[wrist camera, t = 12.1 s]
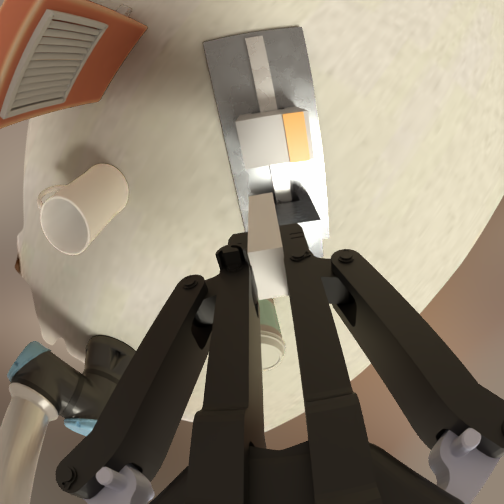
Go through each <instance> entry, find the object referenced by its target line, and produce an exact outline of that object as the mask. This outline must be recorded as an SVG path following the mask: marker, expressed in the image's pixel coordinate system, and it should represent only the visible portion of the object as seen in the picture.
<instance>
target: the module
mask: <svg viewBox="0 0 504 504" xmlns="http://www.w3.org/2000/svg"><path fill="white" fill-rule="evenodd" d="M235 123H236V128H237V132H238V137H239V142H240V146H241V151H242V156H243V160H244V165H245V170H246V169H252V168H258V167H264V166H270V165H276V164H282V163H289V162H290V163H296V162H304V161H310V159H314V151H313V143H312V136H311V129H310V122H309V115H308V111H307V110H305V109H302V108H299V107H297V106H293V107H286V108H284V109H280V110H273V111H267V112H261V113H255V114H252V113H248V114H243V115H239V117H238V118H237V120H236V122H235Z"/></svg>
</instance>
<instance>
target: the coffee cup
mask: <svg viewBox="0 0 504 504" xmlns="http://www.w3.org/2000/svg"><path fill="white" fill-rule="evenodd" d="M258 302H259V307H260V327H261V355H262V371H266V370H270V369H272V368H275V367H276V366H278V365H279V364H280V363H281V361H282V359H283V356H284V354H285V349H286V345H285V342H284V340H283V339H282V335H281V331H280V327H279V323H278V318H277V314H276V310H275V306H274V302H273V299H272V298H269V299H263V300H259V298H258Z"/></svg>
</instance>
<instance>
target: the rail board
mask: <svg viewBox="0 0 504 504" xmlns="http://www.w3.org/2000/svg"><path fill="white" fill-rule="evenodd" d="M203 45H204V50H205V54H206V59H207V63H208V68H209V72H210V76H211V81H212V85H213V90H214V94H215V99H216V103H217V108H218V112H219V117H220V121H221V125H222V130H223V134H224V139H225V143H226V148H227V152H228V156H229V161H230V165H231V170H232V174H233V179H234V183H235V187H236V192H237V196H238V201H239V205H240V210H241V214H242V218H243V223H244V227H245V232H248V206H249V196H254V195H259V194H265V193H271V192H272V194H273V199H274V204H275V209H276V214H277V219H278V225H279V226H281V225H287V224H293V223H298V224H299V225H300V226H302V229H303V232H304V235H305V238H306V241H307V244H308V247H309V250H310V251H311V252H312V253H313V255H314V256H316V257H318V258H321V257H323V242H322V239H327V238H329V220H328V205H327V192H326V180H325V170H324V160H323V151H322V142H321V134H320V127H319V119H318V112H317V105H316V99H315V93H314V87H313V81H312V75H311V70H310V64H309V59H308V54H307V49H306V44H305V39H304V35H303V30H302V27H293V28H282V29H273V30H265V31H258V32H251V33H245V34H239V35H234V36H229V37H224V38H219V39H215V40H211V41H207V42H203ZM293 106H297V107H299V108H302V109H305V110H307V111H308V115H309V122H310V129H311V136H312V143H313V151H314V159H310V161H304V162H296V163H290V162H289V163H282V164H276V165H270V166H264V167H258V168H252V169H246V170H245V165H244V160H243V156H242V151H241V146H240V142H239V137H238V132H237V128H236V123H235V122H236V120H237V118H238V117H239V115H243V114H248V113H252V114H255V113H261V112H267V111H273V110H280V109H284V108H286V107H293Z"/></svg>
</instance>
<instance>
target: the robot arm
mask: <svg viewBox="0 0 504 504" xmlns="http://www.w3.org/2000/svg"><path fill="white" fill-rule="evenodd" d="M215 255H216V258H217V261H218V264H219V267H220V274H218V275H217V276H215V277H213V278H210V279H208V280H204V277H202V276H201V275H190V276H187V277H185V278H184V279H182V280H181V281H180V282H179V283H178V284H177V286H176V287H175V289H174V290H173V292H172V294H171V295H170V297H169V298H168V300H167V302H166V303H165V305H164V306H163V308H162V310H161V311H160V313H159V314H158V316H157V318H156V319H155V321H154V322H153V324H152V326H151V327H150V329H149V331H148V332H147V334H146V336H145V337H144V339H143V341H142V342H141V344H140V346H139V347H138V349H137V351H135V350H133V349H132V348H131V347H129V346H128V345H126V344H125V343H123V342H121V341H119V340H116V339H114V338H111V337H106V336H95V337H92V338H91V339H90V340H89V342H88V345H87V347H86V358H85V369H84V372H83V374H81V373H80V372H78V371H77V370H75V369H74V368H72V367H71V366H70V365H68V364H67V363H65V362H64V361H63V360H61V359H60V358H59V357H57V356H56V355H55V354H53V353H52V352H51V350H50V349H47V348H45V347H44V346H43V345H41V344H40V343H39V342H36V341H33V342H31V343H29V344H28V345H27V346H26V347H25V349H24V350H23V351H22V352H21V354H20V355H19V356H18V358H17V359H16V361H15V362H14V364H13V365H12V367H11V368H10V370H9V372H8V374H7V377H8V378H9V381H10V382H11V383H10V386H9V391H10V394H11V396H12V399H11V402H10V404H9V406H8V409H7V412H6V414H5V417H4V419H3V422H2V425H1V427H0V504H30V497H31V491H32V486H33V481H34V476H35V471H36V466H37V462H38V458H39V454H40V450H41V446H42V442H43V439H44V435H45V432H46V428H47V425H48V422H49V421H52V420H56V419H57V418H58V415H61V416H62V417H64V418H65V419H64V424H65V426H66V427H68V428H69V429H71V430H72V431H75V432H77V433H79V434H82V435H84V436H86V437H85V438H84V439H83V440H82V441H81V442H80V443H79V444H78V445H77V446H76V447H75V448H74V449H73V450H72V451H71V452H70V453H69V454H68V455H67V456H66V457H65V458H64V459H63V460H62V461H61V462H60V463H59V465H58V467H57V469H56V481H57V483H58V485H59V487H60V488H61V489H62V490H63V491H65V492H68V493H70V494H72V495H75V496H77V497H80V498H82V499H84V500H85V501H86V502H87V503H88V504H147V503H148V501H149V500H151V499H152V498H153V497H154V490H153V489H152V486H151V484H150V482H151V481H152V479H153V478H154V477H155V475H156V474H157V472H158V471H159V469H160V467H161V465H162V463H163V461H164V459H165V457H166V455H167V452H168V450H169V447H170V445H171V442H172V440H173V437H174V435H175V433H176V430H177V428H178V425H179V423H180V421H181V418H182V416H183V413H184V411H185V408H186V406H187V404H188V401H189V399H190V396H191V394H192V391H193V389H194V387H195V384H196V382H197V379H198V377H199V375H200V372H201V370H202V367H203V365H204V362H205V360H206V358H207V355H208V353H209V357H208V365H207V374H206V383H205V391H204V401H203V407H202V409H201V410H200V411H198V412H196V414H195V416H194V421H193V429H192V438H191V447H190V457H189V466H187V467H186V468H185V469H184V470H183V471H182V472H181V473H180V474H179V475H178V476H177V477H176V478H175V479H174V480H173V481H172V482H171V483H170V484H169V485H168V486H167V487H166V488H165V489H164V490H163V491H162V492H161V493H160V494H159V495H158V496H157V497H156V498H155V499H154V500H152V501H151V502H150V503H149V504H471V502H472V501H473V499H474V498H475V497H476V496H477V494H478V493H479V491H480V490H481V488H482V487H483V485H484V484H485V482H486V481H487V479H488V477H489V476H490V474H491V473H492V471H493V470H494V468H495V466H496V464H497V463H498V461H499V459H500V458H501V457H502V456H503V455H504V400H503V399H501V398H500V397H498V396H497V395H495V394H493V393H492V392H491V391H489V390H487V389H486V388H484V387H482V386H481V385H480V384H478V383H477V381H476V380H475V379H474V377H473V376H472V375H471V374H470V372H469V371H468V370H467V369H466V367H465V366H464V365H463V364H462V362H461V361H460V360H459V359H458V358H457V357H456V355H455V354H454V353H453V352H452V351H451V349H450V348H449V347H448V346H447V345H446V344H445V342H444V341H443V340H442V339H441V338H440V337H439V336H438V334H437V333H436V332H435V331H434V330H433V329H432V328H431V327H430V325H429V324H428V323H427V322H426V321H425V320H424V319H423V318H422V317H421V316H420V315H419V313H418V312H417V311H416V310H415V309H414V308H413V307H412V306H411V305H410V304H409V303H408V302H407V301H406V300H405V299H404V298H403V297H402V295H401V294H400V293H399V292H398V291H397V290H396V289H395V288H394V287H393V286H392V285H391V284H390V283H389V282H388V281H387V280H386V279H385V278H384V277H383V276H382V275H381V274H380V273H379V272H378V271H377V270H376V269H375V268H374V267H373V266H372V265H371V264H370V263H369V262H368V261H367V260H365V259H364V258H363V257H362V256H361V255H360V254H359V253H358V252H356V251H354V250H350V249H343V250H339V251H337V252H335V253H334V254H333V255H332V256H331V259H324V258H318V257H316V256H314V255H313V253H312V252H311V251H310V250H309V247H308V244H307V241H306V238H305V235H304V232H303V229H302V226H300V225H299V224H298V223H293V224H287V225H281V226H279V225H278V219H277V214H276V209H275V204H274V199H273V194H272V192H271V193H265V194H259V195H254V196H249V206H248V232H244V233H238V234H233V235H232V236H231V237H230V239H229V241H228V245H226V246H224V247H222V248H220V249H219V250H218V251H217V252H216V254H215ZM288 295H289V297H290V304H291V310H292V317H293V324H294V330H295V337H296V345H297V352H298V359H299V366H300V374H301V382H302V390H303V398H304V406H305V414H306V423H307V431H308V441H306V442H303V443H300V444H298V445H295V446H292V447H290V448H287V449H284V450H270V449H266V443H265V437H264V414H263V384H262V355H261V327H260V307H259V302H258V298H259V300H263V299H269V298H276V297H282V296H288ZM329 303H330V304H332V305H333V308H334V309H335V311H336V312H337V313H338V315H339V316H340V318H341V319H342V321H343V322H344V324H345V325H346V326H347V328H348V329H349V331H350V332H351V334H352V335H353V337H354V338H355V340H356V341H357V343H358V344H359V346H360V347H361V349H362V350H363V352H364V353H365V355H366V356H367V357H368V359H369V361H370V362H371V364H372V365H373V367H374V368H375V370H376V371H377V373H378V374H379V376H380V377H381V379H382V380H383V382H384V383H385V385H386V386H387V388H388V390H389V391H390V393H391V394H392V396H393V397H394V399H395V400H396V402H397V403H398V405H399V407H400V408H401V410H402V411H403V413H404V415H405V416H406V418H407V419H408V421H409V423H410V424H411V426H412V428H413V429H414V430H415V432H416V433H417V435H418V436H419V438H420V439H421V440H422V441H423V442H424V443H425V444H426V445H427V446H428V448H430V449H431V451H430V454H429V466H430V468H431V469H432V471H433V472H434V473H435V475H436V478H437V485H435V484H433V483H432V482H430V481H429V480H427V479H426V478H424V477H422V476H421V475H419V474H418V473H416V472H415V471H413V470H412V469H410V468H409V467H407V466H406V465H405V464H403V463H402V462H400V461H399V460H397V459H396V458H394V457H393V456H392V455H390V454H389V453H387V452H386V451H385V450H383V449H382V448H380V447H378V446H376V445H374V444H372V443H369V442H368V437H367V433H366V428H365V424H364V419H363V415H362V411H361V407H360V403H359V399H358V397H357V394H356V393H354V392H353V390H352V387H351V384H350V379H349V375H348V371H347V367H346V363H345V360H344V356H343V352H342V348H341V345H340V341H339V337H338V334H337V330H336V327H335V323H334V320H333V316H332V313H331V309H330V306H329Z"/></svg>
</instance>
